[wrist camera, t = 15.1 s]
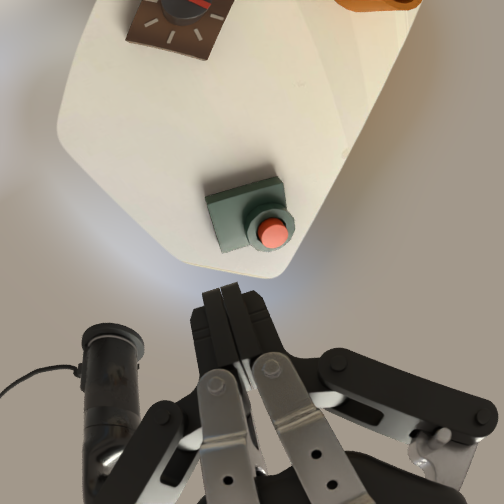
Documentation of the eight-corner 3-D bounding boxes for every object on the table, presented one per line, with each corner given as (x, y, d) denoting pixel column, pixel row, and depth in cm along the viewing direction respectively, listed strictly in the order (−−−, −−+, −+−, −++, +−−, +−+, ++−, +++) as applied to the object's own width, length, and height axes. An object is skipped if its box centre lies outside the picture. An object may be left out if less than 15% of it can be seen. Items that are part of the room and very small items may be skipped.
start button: (259, 244, 41) (263, 251, 40) (255, 222, 39) (259, 229, 37) (285, 236, 41) (289, 243, 40) (281, 214, 39) (286, 221, 38)
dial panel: (203, 60, 28) (207, 60, 26) (128, 42, 25) (124, 40, 22) (243, -24, 23) (250, -31, 20) (169, -45, 19) (170, -54, 17)
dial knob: (154, 16, 22) (151, 7, 17) (177, -17, 20) (179, -32, 16) (191, 32, 24) (196, 26, 20) (214, 0, 22) (223, -12, 18)
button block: (220, 249, 44) (225, 265, 41) (204, 197, 39) (209, 211, 36) (286, 228, 45) (296, 243, 42) (279, 175, 40) (290, 187, 37)
